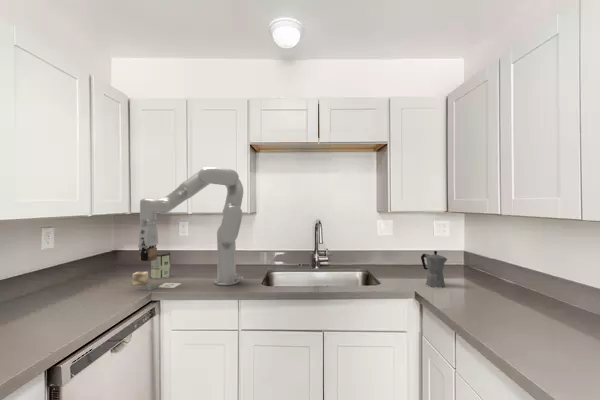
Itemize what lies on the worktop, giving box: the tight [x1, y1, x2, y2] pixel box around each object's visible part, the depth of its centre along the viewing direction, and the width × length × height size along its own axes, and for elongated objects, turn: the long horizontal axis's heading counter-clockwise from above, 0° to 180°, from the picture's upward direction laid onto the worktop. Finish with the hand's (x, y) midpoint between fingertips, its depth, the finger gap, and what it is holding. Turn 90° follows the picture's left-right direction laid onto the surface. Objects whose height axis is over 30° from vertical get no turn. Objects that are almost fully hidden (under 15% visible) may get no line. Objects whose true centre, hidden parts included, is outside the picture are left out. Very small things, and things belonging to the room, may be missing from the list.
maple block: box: [132, 271, 149, 286], centre depth 179 cm, size 6×6×6 cm
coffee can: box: [150, 251, 171, 280], centre depth 193 cm, size 10×10×14 cm
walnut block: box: [138, 246, 158, 262], centre depth 170 cm, size 6×6×6 cm
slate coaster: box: [135, 284, 160, 291], centre depth 170 cm, size 8×8×1 cm
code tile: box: [158, 282, 182, 289], centre depth 175 cm, size 9×9×1 cm
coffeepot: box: [420, 250, 448, 288], centre depth 178 cm, size 15×9×18 cm, turn 33°
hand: (148, 259), depth 170 cm, fingers closed on walnut block, 6 cm apart
